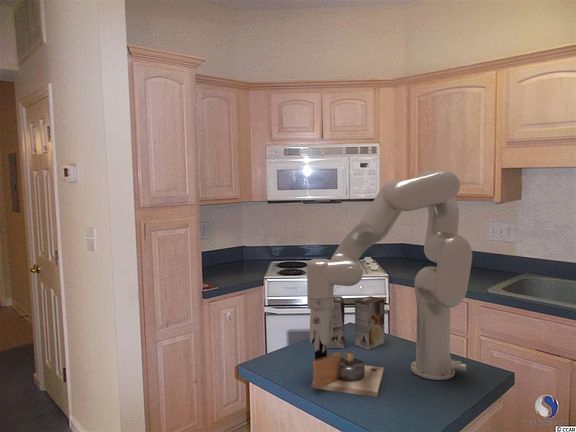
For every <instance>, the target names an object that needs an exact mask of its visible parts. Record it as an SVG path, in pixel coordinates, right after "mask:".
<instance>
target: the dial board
mask: <svg viewBox="0 0 576 432" xmlns="http://www.w3.org/2000/svg"><path fill="white" fill-rule="evenodd" d="M383 376H384V367H381V366H374V365H373V366H372V365H366V364H365V376H364V377H363V378H362V379H360V380H356V381H345V380H341V379H338V380H335V381H332V382H330V383H327V384H324V385H322V386H319V387H317V388H316V387H314V386H313V380H312V381H311V389H315V390H323V391H329V392H336V393H337V392H338V393H344V394H351V395H359V396H366V397H372V398H378V396H379V391H380V389H381V383H382V380H383Z"/></svg>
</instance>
